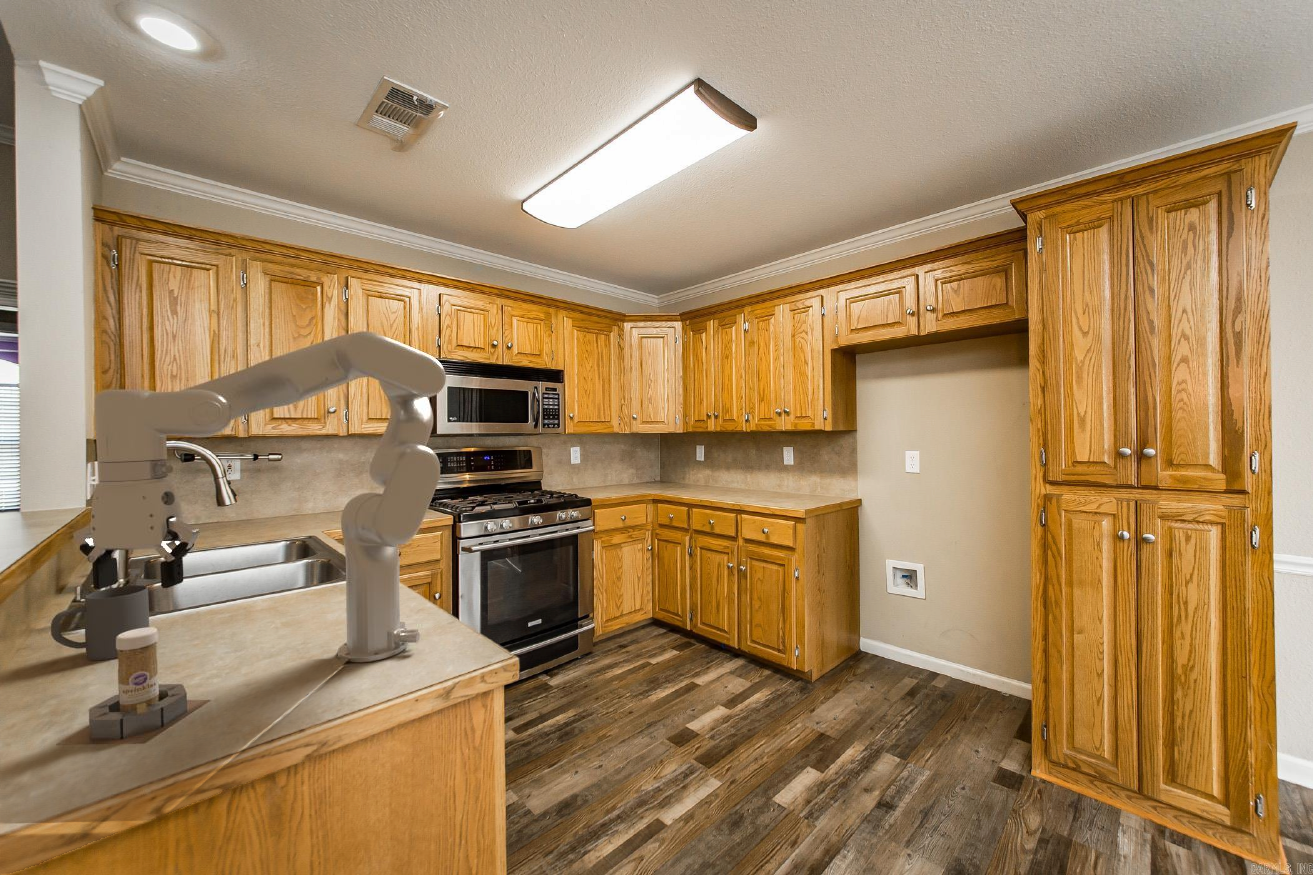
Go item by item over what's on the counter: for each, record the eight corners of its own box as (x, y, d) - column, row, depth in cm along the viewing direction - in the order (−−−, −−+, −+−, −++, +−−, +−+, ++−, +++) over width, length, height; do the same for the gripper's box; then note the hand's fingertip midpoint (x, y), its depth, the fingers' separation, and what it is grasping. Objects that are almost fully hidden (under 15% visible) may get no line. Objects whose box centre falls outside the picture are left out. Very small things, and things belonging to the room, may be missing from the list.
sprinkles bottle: (126, 731, 80) (122, 639, 79) (113, 723, 82) (110, 634, 81) (166, 716, 84) (163, 629, 83) (153, 708, 86) (149, 624, 85)
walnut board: (211, 704, 89) (211, 699, 89) (144, 748, 77) (144, 742, 77) (135, 705, 88) (135, 700, 88) (56, 749, 76) (56, 744, 76)
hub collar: (202, 702, 88) (202, 678, 88) (143, 739, 78) (143, 713, 77) (135, 703, 88) (135, 679, 88) (67, 741, 77) (66, 714, 77)
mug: (141, 638, 116) (140, 582, 116) (156, 648, 111) (154, 589, 111) (46, 662, 104) (44, 599, 104) (57, 674, 99) (55, 608, 99)
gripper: (212, 469, 86) (217, 577, 86) (98, 470, 85) (104, 579, 86) (172, 474, 78) (177, 593, 79) (46, 476, 78) (53, 595, 78)
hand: (139, 585), depth 82 cm, fingers open, 9 cm apart
